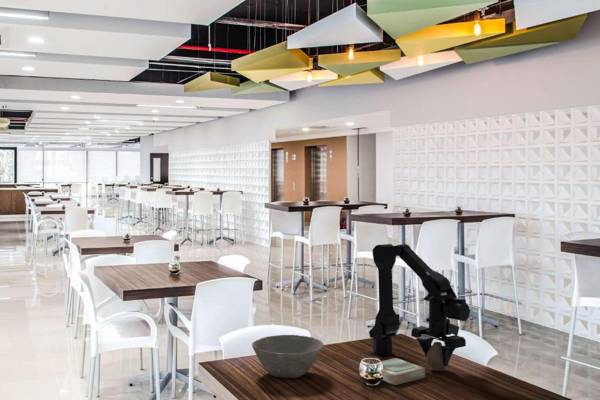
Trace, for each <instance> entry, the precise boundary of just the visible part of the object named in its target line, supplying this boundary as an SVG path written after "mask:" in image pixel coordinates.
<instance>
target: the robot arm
mask: <svg viewBox="0 0 600 400" xmlns="http://www.w3.org/2000/svg"><path fill="white" fill-rule="evenodd" d="M397 257H399V258H400V259H401V260H402V261H403V263H405V264H406V265H407V266H408V267H409V268H410V269H411V270H412V271H413V273H414V274H415V275H416V276H417V277H418V278H419V279H420V280H421V283H422V287H423V288H424V289H425V291H426V292H427V295H426V296H424V297H423V301H426V302H428V317H427V318H425V319H426V320H425V321H426V322H427V323H428V327H427V326H423V325H421V326H416V327H413V328H412V330H410V331H411V332H410V334H411V335H410V336H411V337H413V338H415V339H416V341H418V344H419V346H420V347H421V350H422V352H423V354H424V356H425V358H426V359H427V353H428V350H429V349H430V348H431V346H432V345H433V344H432V343H433V341H434V340H437V341H439V342H443V343H444V345H442V346H441V349H442V355H443V362H444V366H449V363H450V360H451V357H452V356H453V353H454V351H455V350H456V349H459V348H464V347H466V345H467V341H466V338H464V336H461V335H459V331H460V326H458V325H455V324H452V323H451V320H456V321H461V322H466V321H467V320H468V319H469V318H470V313H471V309H470V306H469V304H468V303H467V300H466V298H458V297H457V294H456V293H455V291H454V289H453V288H452V286H451V281H450V279H448V278H447V276H444V275H443V274H441V273H440V272H438V271H436V270H434V269H432V268H431V267H430V266H429V264H427V263H426V262H425V261H424V260H423V259H422V258H421V257H420V256H419V255H418V254H417V253H416V252H415V251H414V250H413V249H412V248H411V246H410V245H409V244H406V243H403V244H401V243H400V244H396V245H393V244H392V243H385V244H376V245H375V246H374V247H373V248H372V259H373V263H374V265H375V267H376V268H377V274H378V275H377V277H378V280H377V281H378V307H379V308H378V310H377V311H378V312H377V313H376V315H375V319H374V320H375V321H374V325H373V327H372V328H370V330H369V331H368V335H369V338H370V339H373V350H372V351H370V354H372V355H374V356H377V357H381V358H384V357H385V358H386V357H389V356H394V355H395V354H396V353H395V352H394V351H393V340H392V339H393V338H394V337H396V334H397V332H398V330H399V329H400V326H401V322H400V318H401V317H400V314H399V313H396V311H395V310H394V294H393V293H394V291H393V290H394V289H393V287H394V286H393V268H394V265H395V263H396V261H397ZM450 319H451V320H450Z"/></svg>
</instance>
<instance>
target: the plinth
mask: <svg viewBox="0 0 600 400" xmlns="http://www.w3.org/2000/svg"><path fill="white" fill-rule="evenodd" d="M380 361H381V362H382V364H383V379H382V380H381V381H384V382H386V383H388V384H390V385H394V386H397V385H401V384H406V383H409V382H413V381H416V380H421V379H425V378H426V367H423V366H421V365H418V364H414V363H411V362H409V361H407V360H403V359H401V358H397V357H395V358H390V359H385V360H380Z"/></svg>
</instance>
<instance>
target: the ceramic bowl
mask: <svg viewBox="0 0 600 400" xmlns="http://www.w3.org/2000/svg"><path fill="white" fill-rule="evenodd" d="M251 346H252V348H253V351H254V353H255V355H256V357H257V359H258V361H259V362H260V364H261V365H262V367H263V368H264V370H265V371H266V372H267V374H268V375H270V376H272V377H275V378H282V379H285V378H286V379H297V378H300V377H302V376H303V375H306V374H307V372H309V371H310V369H311V368H312V367H313V365H314V364H315V363H316V361H317V360H318V359H319V356H320V354H321V352H322V351H323V349H324V343H323V342H322V341H321V340H319V339H317V338H315V337H311V336H306V335H298V334H279V335H270V336H265V337H261V338H259V339H257V340H255V341H253V342H252V343H251Z"/></svg>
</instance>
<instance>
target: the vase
mask: <svg viewBox="0 0 600 400" xmlns="http://www.w3.org/2000/svg"><path fill="white" fill-rule="evenodd" d="M432 343H433V344H431V348H430V349H429V350H428V353H427V358H426V363H427V365H428V367H429V368H430V369H431V370H432V371H434V372H443V371H445V369H446V368H447V366H448V365H447V366H444V362H443V355H442V349H441V346H443V343H442V341H434V342H432Z"/></svg>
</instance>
